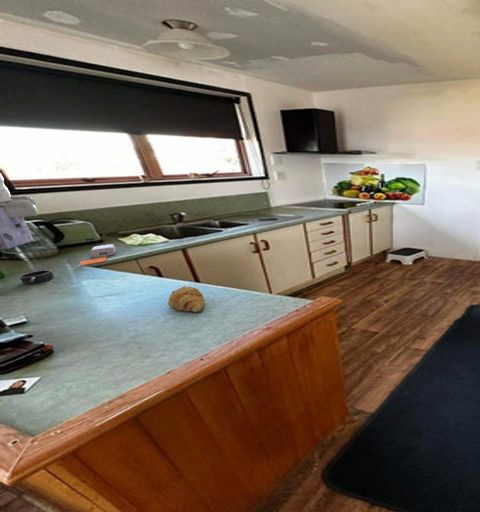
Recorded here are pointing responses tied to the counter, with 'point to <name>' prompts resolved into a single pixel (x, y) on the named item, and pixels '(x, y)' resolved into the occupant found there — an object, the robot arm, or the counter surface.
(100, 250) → the charger
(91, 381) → the counter surface
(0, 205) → the robot arm
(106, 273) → the counter surface
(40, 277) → the pan
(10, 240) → the cake pan box
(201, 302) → the croissant
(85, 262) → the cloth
